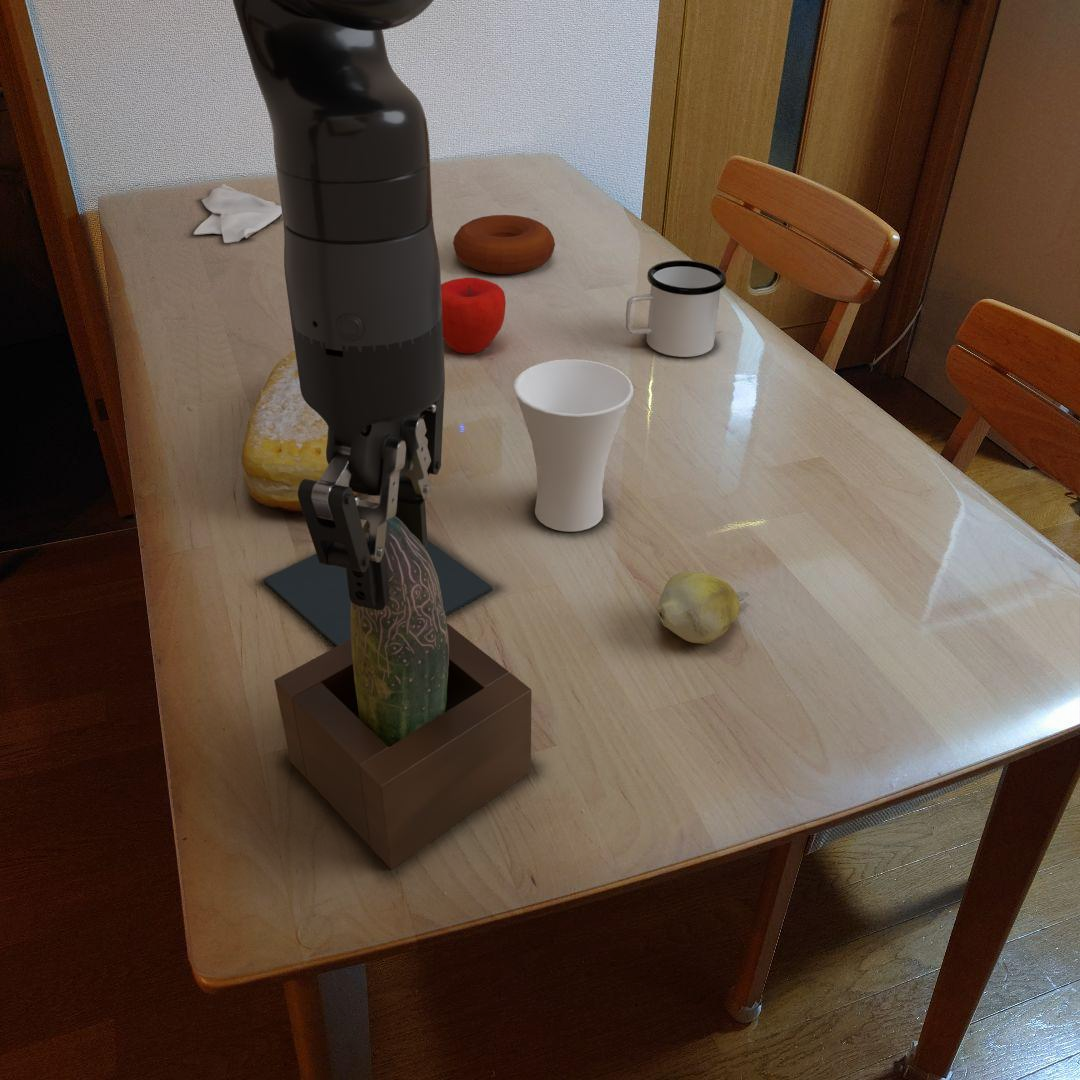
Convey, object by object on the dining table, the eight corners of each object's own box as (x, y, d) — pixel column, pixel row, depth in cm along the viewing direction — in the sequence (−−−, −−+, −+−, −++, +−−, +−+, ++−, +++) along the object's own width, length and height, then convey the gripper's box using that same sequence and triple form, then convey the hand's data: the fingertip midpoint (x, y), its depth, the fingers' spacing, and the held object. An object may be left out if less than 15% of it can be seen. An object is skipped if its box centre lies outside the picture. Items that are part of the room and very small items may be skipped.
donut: (517, 235, 156) (517, 203, 153) (574, 265, 147) (576, 231, 144) (434, 255, 149) (433, 221, 146) (489, 287, 140) (489, 252, 137)
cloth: (281, 240, 154) (278, 226, 152) (187, 245, 152) (184, 230, 150) (286, 187, 174) (284, 174, 173) (204, 191, 172) (202, 177, 171)
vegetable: (346, 740, 70) (315, 498, 59) (426, 707, 73) (412, 470, 61) (383, 798, 66) (359, 550, 55) (467, 761, 69) (460, 518, 57)
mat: (356, 665, 79) (355, 662, 79) (263, 582, 87) (263, 578, 87) (492, 590, 87) (492, 586, 86) (395, 520, 95) (395, 516, 95)
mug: (702, 324, 131) (710, 257, 125) (729, 356, 123) (738, 286, 118) (613, 332, 128) (617, 264, 123) (635, 365, 121) (640, 294, 116)
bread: (231, 526, 94) (216, 453, 89) (274, 391, 115) (263, 326, 110) (376, 522, 94) (369, 449, 90) (392, 389, 116) (387, 324, 111)
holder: (391, 870, 64) (380, 786, 59) (290, 761, 71) (273, 679, 66) (531, 771, 70) (531, 689, 66) (426, 681, 78) (419, 601, 73)
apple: (518, 354, 123) (519, 293, 119) (452, 368, 120) (450, 306, 115) (488, 326, 130) (487, 267, 125) (424, 339, 126) (420, 279, 122)
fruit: (774, 622, 84) (696, 664, 77) (716, 606, 88) (638, 644, 82) (773, 557, 82) (694, 593, 76) (714, 543, 86) (635, 577, 80)
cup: (596, 557, 90) (604, 426, 82) (494, 526, 94) (491, 397, 86) (640, 499, 98) (651, 374, 90) (544, 472, 102) (546, 349, 94)
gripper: (360, 251, 57) (382, 501, 67) (222, 357, 46) (274, 638, 56) (485, 268, 55) (489, 522, 65) (374, 382, 44) (399, 668, 54)
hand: (390, 574), depth 60 cm, fingers closed on vegetable, 5 cm apart
